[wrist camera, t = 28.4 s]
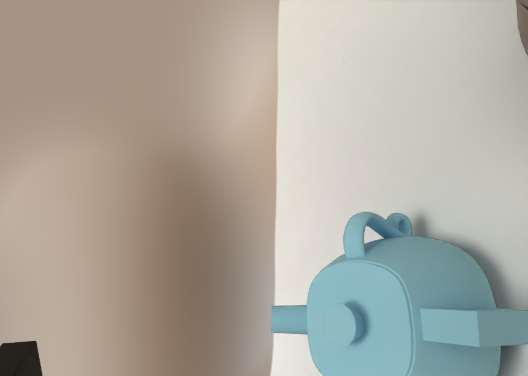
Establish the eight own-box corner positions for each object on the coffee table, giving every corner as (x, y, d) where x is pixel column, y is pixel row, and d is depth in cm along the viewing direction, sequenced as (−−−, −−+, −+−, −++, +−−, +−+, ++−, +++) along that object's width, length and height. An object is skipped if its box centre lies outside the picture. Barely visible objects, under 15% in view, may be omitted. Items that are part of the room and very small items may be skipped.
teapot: (540, 198, 32) (463, 167, 24) (587, 461, 27) (512, 524, 20) (325, 234, 46) (235, 222, 39) (334, 410, 42) (235, 435, 34)
